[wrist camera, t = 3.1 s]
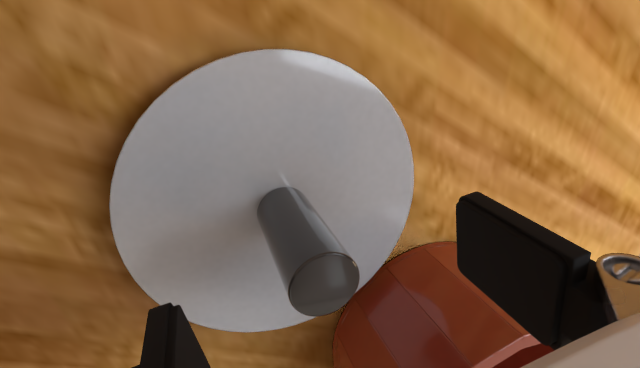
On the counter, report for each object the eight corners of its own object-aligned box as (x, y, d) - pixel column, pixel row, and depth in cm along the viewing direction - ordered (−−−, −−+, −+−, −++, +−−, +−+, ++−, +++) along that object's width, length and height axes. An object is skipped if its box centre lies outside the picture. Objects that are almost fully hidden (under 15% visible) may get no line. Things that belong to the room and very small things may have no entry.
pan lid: (32, 221, 14) (-80, 356, 8) (282, -32, 13) (356, -85, 8) (274, 353, 20) (309, 479, 14) (444, 187, 20) (548, 247, 14)
